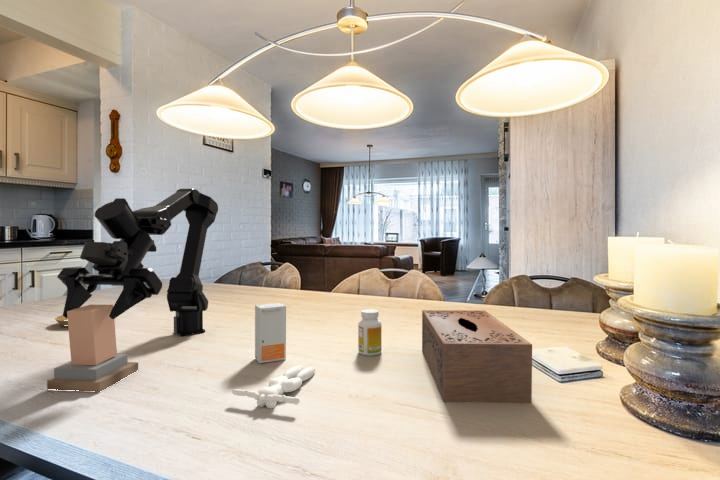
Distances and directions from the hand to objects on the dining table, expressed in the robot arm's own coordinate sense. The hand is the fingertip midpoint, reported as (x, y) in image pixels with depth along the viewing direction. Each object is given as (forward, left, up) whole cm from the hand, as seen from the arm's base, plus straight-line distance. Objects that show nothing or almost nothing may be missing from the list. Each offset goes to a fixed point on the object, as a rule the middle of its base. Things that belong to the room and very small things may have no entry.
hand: (88, 317), depth 69 cm
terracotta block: (-1, -1, -8) cm, 9 cm away
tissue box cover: (-55, +46, -13) cm, 73 cm away
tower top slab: (-1, -1, -11) cm, 11 cm away
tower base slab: (-1, -1, -13) cm, 13 cm away
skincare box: (-31, +12, -13) cm, 36 cm away
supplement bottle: (-50, +24, -13) cm, 57 cm away
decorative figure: (-25, +28, -13) cm, 40 cm away
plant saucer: (-7, -57, -13) cm, 59 cm away
